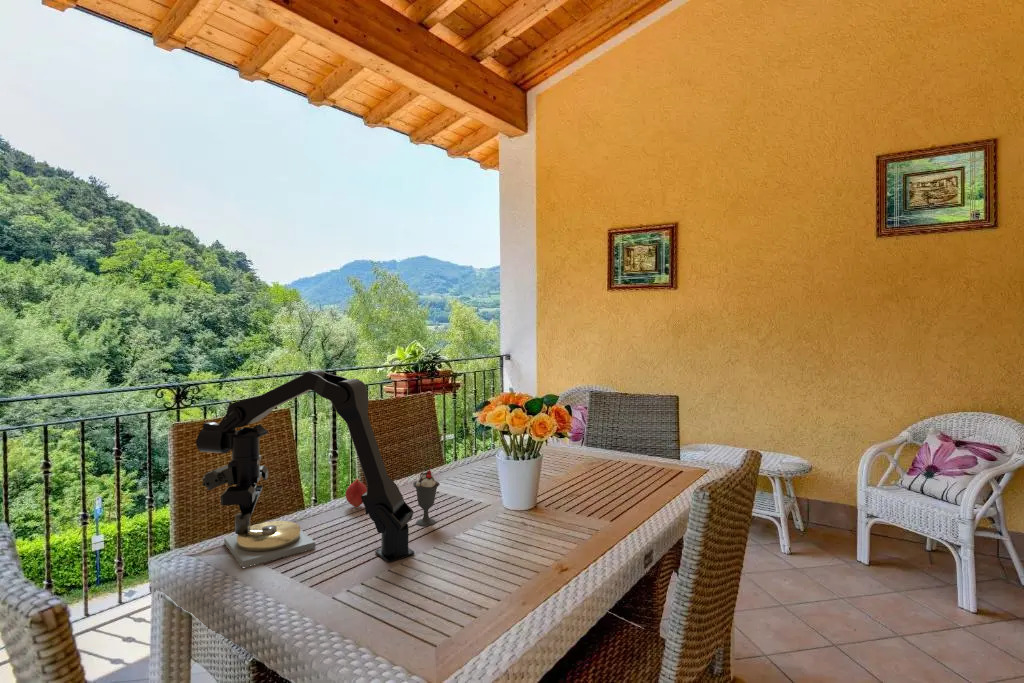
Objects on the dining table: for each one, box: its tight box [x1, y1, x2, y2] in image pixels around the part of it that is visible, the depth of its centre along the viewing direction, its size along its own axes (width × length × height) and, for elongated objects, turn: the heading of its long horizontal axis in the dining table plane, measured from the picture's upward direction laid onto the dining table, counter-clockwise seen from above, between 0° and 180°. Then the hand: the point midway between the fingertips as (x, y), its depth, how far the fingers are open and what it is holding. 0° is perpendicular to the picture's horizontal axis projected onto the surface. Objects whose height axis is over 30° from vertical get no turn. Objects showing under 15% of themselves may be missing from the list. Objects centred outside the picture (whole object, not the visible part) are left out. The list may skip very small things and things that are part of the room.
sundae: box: [412, 465, 440, 527], centre depth 135 cm, size 7×7×15 cm
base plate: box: [223, 528, 316, 568], centre depth 120 cm, size 15×15×2 cm
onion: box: [345, 478, 367, 508], centre depth 145 cm, size 6×6×8 cm
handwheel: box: [234, 511, 301, 551], centre depth 120 cm, size 13×13×6 cm
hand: (246, 520), depth 123 cm, fingers closed
